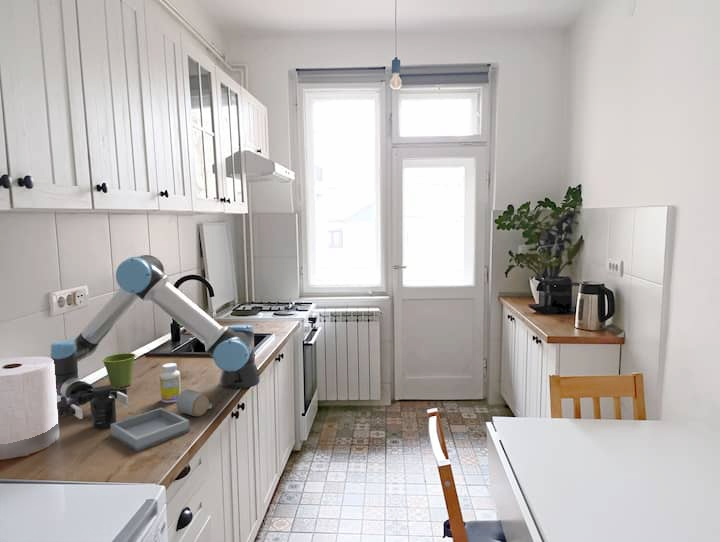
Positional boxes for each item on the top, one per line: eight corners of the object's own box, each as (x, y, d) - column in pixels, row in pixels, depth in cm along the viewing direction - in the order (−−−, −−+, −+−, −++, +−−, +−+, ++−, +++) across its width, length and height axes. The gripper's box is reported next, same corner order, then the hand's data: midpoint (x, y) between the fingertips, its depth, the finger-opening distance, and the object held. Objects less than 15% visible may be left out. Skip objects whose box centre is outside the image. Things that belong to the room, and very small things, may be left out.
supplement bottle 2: (166, 396, 170) (164, 362, 169) (184, 396, 170) (182, 362, 169) (157, 403, 164) (155, 367, 162) (176, 403, 163) (174, 368, 162)
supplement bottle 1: (98, 421, 150) (95, 384, 148) (120, 420, 150) (118, 384, 149) (87, 430, 143) (85, 392, 141) (111, 429, 143) (108, 391, 142)
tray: (162, 417, 152) (161, 407, 151) (189, 431, 142) (189, 420, 141) (110, 435, 139) (110, 424, 139) (137, 451, 129) (136, 439, 129)
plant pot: (131, 378, 191) (129, 351, 190) (142, 385, 182) (140, 356, 181) (99, 385, 183) (97, 357, 181) (109, 393, 174) (107, 363, 173)
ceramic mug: (193, 420, 149) (193, 397, 149) (175, 415, 153) (175, 392, 153) (218, 409, 159) (217, 387, 158) (200, 405, 163) (200, 383, 162)
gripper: (116, 391, 168) (145, 406, 155) (35, 414, 148) (60, 433, 135) (115, 371, 167) (144, 384, 154) (33, 391, 148) (58, 408, 134)
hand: (105, 407), depth 144 cm, fingers open, 13 cm apart
